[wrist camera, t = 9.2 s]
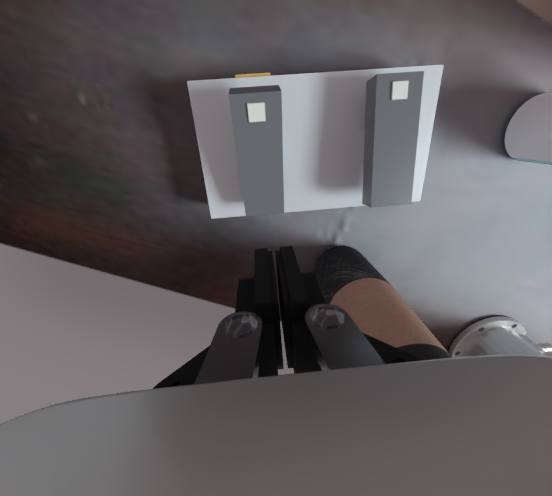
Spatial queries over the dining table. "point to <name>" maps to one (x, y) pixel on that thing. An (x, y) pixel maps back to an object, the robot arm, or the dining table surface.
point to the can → (531, 131)
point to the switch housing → (303, 136)
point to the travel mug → (374, 303)
